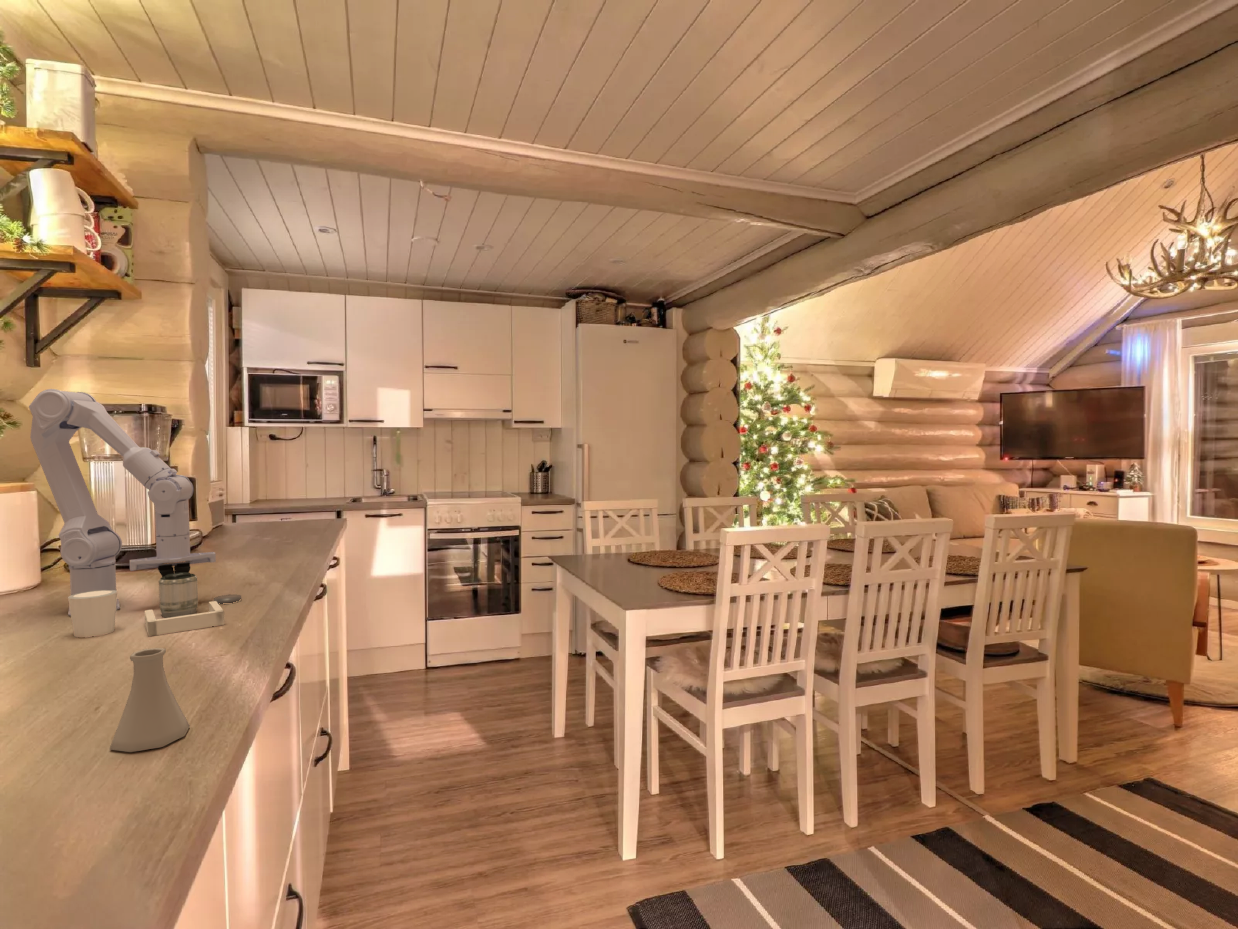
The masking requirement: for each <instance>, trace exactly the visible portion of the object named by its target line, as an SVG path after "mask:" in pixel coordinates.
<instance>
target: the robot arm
mask: <svg viewBox="0 0 1238 929" xmlns="http://www.w3.org/2000/svg"><path fill="white" fill-rule="evenodd" d="M28 409H29V411H30V413H31V415H32V421H31V426H30V427H31V429H30V442H31V444H32V447H33V449H34V451H35V454H36V457H37V459H38V462H39V464H40V467H41V468H42V471H43V474H44V476H45V478H46V481H47V485H48V486H49V488H50V491H51V493H52V497H53V498H54V501H55V503H56V506H57V508H58V511H59V513H60V515H61V518H62V520H63V526H62V528H61V529H60V531H59V533H58V537H59V539H60V557H61V558H62V560H63V561H64V563H66V565H68V570H69V582H70V583H69V585H70V588H69V589H70V596H71V595H74V594H77V593H82V592H88V591H96V590H116V591H117V574H116V572H117V571H116V568H117V567H116V561H117V560H116V556H117V555H119V554H120V552H121V550H122V547H123V540H122V538H121V536H120V535H119V534H118V533H117V532H116V531H114V529H113V528H112V526H111V523H110V522H109V521H108V519H107V520H106V519H105V518H103V517H102V516H101V515H99V513H98V511H97V509H96V506H95V503H94V501H93V498H92V496H91V494H90V490H89V488H88V487H87V486H88V485H87V484H86V481H85V479H84V475H83V474H82V471H81V468H80V466H79V463H78V461H77V458H76V456H75V454H74V451H73V449H72V446H71V444H70V441H71V439H72V438H73V436H75V434H76V432H77V431H80V429H82V428H84V429H88V430H90V431H92V432H93V433H94V434H95V435H97V436H98V437H99V438H100V439H102V440H103V441H104V443H106V444H107V445H109V447H111V448H112V449H113V450H114V451H115V452H116V453H118V454H119V455H120V456H121V457H122V466H123V468H124V469H125V470H127V471H128V473H129V474H131V475H132V476H133V477H134V478H135V479H136V480H137V481H138V482H139V483H140V484H141V485H142V486H143V487H144V488H146V489H147V490H148V491H147V496H148V498H149V500H150V501H151V502H152V503H153V505H154V511H155V512H154V515H155V538H156V539H155V543H156V544H155V546H156V549H155V550H156V556H151V557H144V558H143V557H142V558H137V559H129V570H130V572H132V571H138V570H147V569H157V570H158V572H159V574H160V575H161V578H162V577H164V576H165V575H168V574H173V573H180V572H188V573H190V570H191V565H197V564H205V563H211V564H212V563H217V561H216V560H217V559H216V556H217V555H216V554H217V553H216V552H214V551H211V552H191V540H190V539H191V537H190V535H191V534H190V532H191V531H190V508H189V507H190V506H189V505H190V504H189V500H190V499H191V497H193V494H194V485H193V483H192V481H190V479H189V477H188V476H186V475H183V474H177V473H178V470H176V469H175V468H171V467H170V466H169V465H168V463H166V462H165V461H164V460H163V459H162V458H161V457H160V456H161V453H160V452H159V451H158V450H157V449H151V448H150V447H145V446H144V447H143V446H139V445H138V444H137V443H136V442H135V441H134V439H133V438H132V437H131V436H130V435H129V434H128V433H127V432H126V431H125V430H124V429H123V428H122V427H121V425H120V424H118V422H117V421H115V419H114V418H113V416H111V415H110V414H109V413H108V411H107V409H106V407H105V406H104V405H103V404H101V403H100V402H98V401H97V400H96V399H95V397H93V396H92V395H91V394H90V393H87V392H83V391H77V392H75V391H68V390H67V391H66V390H59V389H55V388H48V389H45V390H42V391H40V392H39V393H38V394H37V395H35V397H34V399H33V400H32V402H31V403H30V404H29V405H28ZM120 609H121V608H120V599H119V598H117V604H116V610H120ZM67 615H68V616H71V613H70V607H69V606H68V613H67Z"/></svg>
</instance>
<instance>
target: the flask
mask: <svg viewBox="0 0 1238 929" xmlns="http://www.w3.org/2000/svg"><path fill="white" fill-rule="evenodd" d="M165 654H166V648H165V647H164V648H163V647H162V648H161V647H154V648H153V647H152V648H145V649H140V650H138V651H135V652H132V653H131V654H130V655H129V660H130V661H131V662H132V663H133V676H132V682H131V686H130V687H131V688H130V691H129V695H128V698H127V700H126V703H125V705H124V708H123V709H124V710H123V712H122V715H121V718H120V720H119V723H118V724H117V727H116V730H115V732H114V736H113V738H112V741H111V743H110V745H109V746H110V747H109V750H111V751H118V752H126V753H135V752H139V751H145V750H150V749H151V750H152V749H158V748H162V747H165V746H167V745H169V744H172V743H173V742H175V741H177V740H178V739H179V740H180V739H181V738H183V737H185V736H186V735H187V732H188V731H189V728H190V726H191V725H190V723H189V721H188V719H187V717H186V715H185V714H184V712H183V710H182V708H181V706H180V705H179V703H178V700H177V699H176V697H175V695H174V693H173V691H172V689H171V686H170V685H169V683H168V679H167V675H166V671H165V668H164V656H165Z"/></svg>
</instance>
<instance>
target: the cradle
mask: <svg viewBox="0 0 1238 929" xmlns="http://www.w3.org/2000/svg"><path fill="white" fill-rule="evenodd" d="M144 625H145V630H146V633H147V636H148V637H154V636H159V635H160V636H161V635H168V634H173V633H174V634H175V633H181V632H187V631H192V630H193V631H194V630H200V629H206V628H213V627H212V626H214V627H219V626H220V627H221V626H225V611H224V610H223V608H222V607H221V605H219V604H218V603H217V601H214V600H212V601H208V611H206V612H200V613H194V614H192V615H185V616H178V617H171V618H165V617H163V618H157V619H156V615H155V613H154V610H153V609H146V610H144Z"/></svg>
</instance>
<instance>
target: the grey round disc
mask: <svg viewBox="0 0 1238 929" xmlns="http://www.w3.org/2000/svg"><path fill="white" fill-rule="evenodd" d="M240 599H241V600H242V595H241V594H224V595H218V596H216V597H215V596H214V598H213V601H217V603H218V604H219V603H220V604H223V603H232V604H234V603H233V602H236V601H239V600H240Z"/></svg>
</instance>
